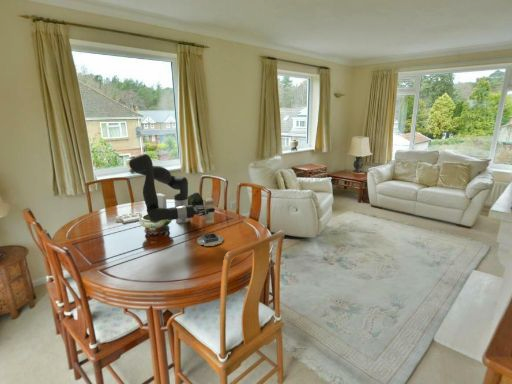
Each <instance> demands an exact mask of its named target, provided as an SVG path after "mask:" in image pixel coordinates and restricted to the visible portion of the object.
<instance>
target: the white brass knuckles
mask: <svg viewBox="0 0 512 384" xmlns="http://www.w3.org/2000/svg"><path fill="white" fill-rule="evenodd" d="M142 217H143V215H142V212H140V211H137V212H131V213H124V214H121V215H117V216H116V217H115V221H116V222H117V223H123V224H126V223H127V224H128V223H132V222H133V223H134V222H137V221H140V220H141V219H142ZM139 219H140V220H139Z"/></svg>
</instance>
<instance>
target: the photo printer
mask: <svg viewBox="0 0 512 384" xmlns="http://www.w3.org/2000/svg"><path fill="white" fill-rule="evenodd" d="M156 194H157V198H158V206H159V208H168V207H167V196H166V195H165V194H164V193H156Z"/></svg>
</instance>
